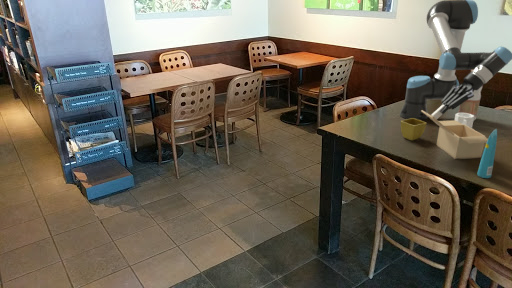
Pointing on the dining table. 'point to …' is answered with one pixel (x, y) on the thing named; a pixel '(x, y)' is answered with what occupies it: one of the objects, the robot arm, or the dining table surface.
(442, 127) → the flap
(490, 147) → the tube
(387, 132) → the dining table surface
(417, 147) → the dining table surface
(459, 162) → the dining table surface
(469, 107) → the fruit juice
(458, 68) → the robot arm
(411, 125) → the flower pot
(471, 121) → the mug
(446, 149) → the carton
